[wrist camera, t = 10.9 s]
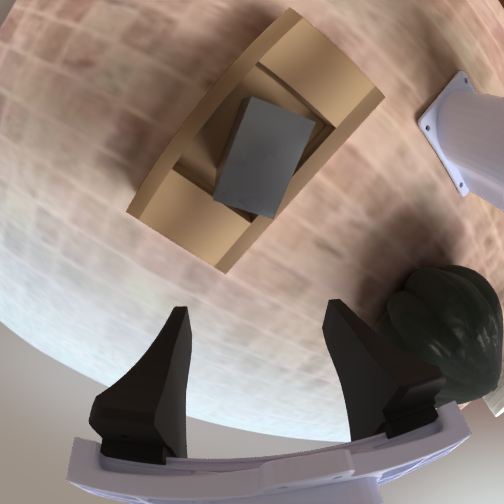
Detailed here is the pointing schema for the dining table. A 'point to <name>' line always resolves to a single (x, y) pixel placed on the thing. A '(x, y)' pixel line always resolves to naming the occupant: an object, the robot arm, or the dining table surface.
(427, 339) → the squash
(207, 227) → the open wooden tray
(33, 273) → the dining table surface
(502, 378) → the supplement tub
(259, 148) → the grey rectangular prism
